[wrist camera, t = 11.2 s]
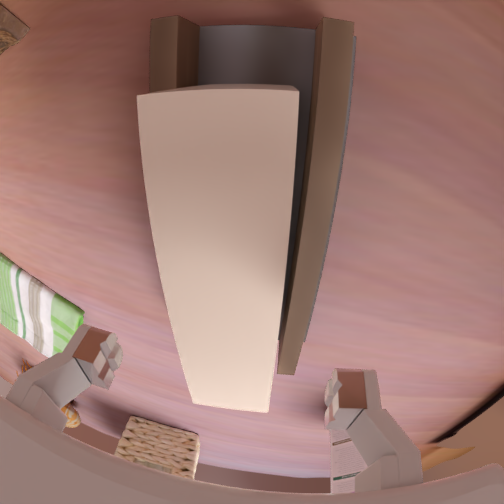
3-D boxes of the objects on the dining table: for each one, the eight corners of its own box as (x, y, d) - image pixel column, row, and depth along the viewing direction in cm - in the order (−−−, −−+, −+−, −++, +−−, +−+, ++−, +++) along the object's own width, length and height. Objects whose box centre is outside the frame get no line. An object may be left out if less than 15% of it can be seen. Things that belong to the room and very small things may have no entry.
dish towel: (-28, 225, 27) (-43, 238, 24) (87, 305, 31) (73, 325, 28) (-13, 298, 36) (-24, 311, 34) (83, 365, 40) (74, 381, 38)
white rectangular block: (292, 85, 16) (299, 91, 7) (276, 309, 26) (267, 412, 17) (210, 84, 16) (136, 95, 8) (219, 304, 26) (193, 403, 18)
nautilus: (9, 342, 44) (61, 363, 44) (44, 398, 54) (91, 416, 55) (-8, 368, 37) (44, 395, 37) (33, 421, 48) (81, 443, 48)
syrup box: (327, 415, 39) (327, 504, 26) (363, 404, 36) (370, 496, 24) (342, 426, 41) (344, 506, 29) (376, 416, 38) (383, 498, 26)
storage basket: (125, 408, 47) (101, 473, 34) (207, 432, 47) (192, 502, 35) (140, 443, 60) (125, 491, 48) (201, 460, 60) (191, 510, 48)
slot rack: (352, 38, 14) (374, 26, 10) (304, 334, 29) (304, 375, 24) (168, 32, 15) (133, 22, 11) (186, 321, 29) (172, 359, 25)
